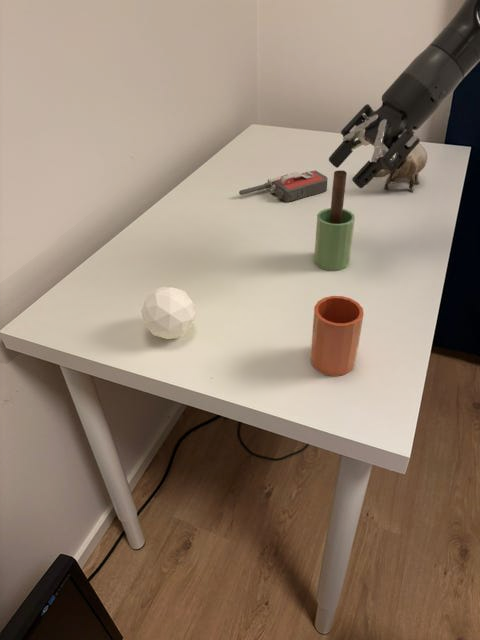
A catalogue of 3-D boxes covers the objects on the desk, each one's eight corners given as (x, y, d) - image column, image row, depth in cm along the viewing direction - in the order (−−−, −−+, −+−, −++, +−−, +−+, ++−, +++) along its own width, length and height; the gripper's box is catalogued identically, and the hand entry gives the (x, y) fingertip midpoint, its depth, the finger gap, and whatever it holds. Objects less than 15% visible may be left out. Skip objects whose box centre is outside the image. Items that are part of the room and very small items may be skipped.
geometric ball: (185, 339, 77) (213, 304, 73) (159, 357, 70) (188, 319, 66) (152, 306, 77) (177, 270, 74) (122, 321, 70) (149, 282, 67)
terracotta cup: (360, 353, 69) (369, 303, 63) (346, 381, 65) (354, 331, 59) (319, 340, 71) (324, 291, 66) (303, 367, 67) (307, 317, 62)
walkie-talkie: (310, 177, 116) (237, 196, 109) (311, 159, 113) (236, 178, 106) (332, 190, 110) (256, 212, 103) (334, 171, 107) (256, 192, 100)
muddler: (346, 258, 87) (357, 172, 77) (333, 266, 85) (342, 179, 75) (330, 250, 89) (338, 166, 79) (316, 258, 87) (323, 173, 77)
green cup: (353, 256, 88) (359, 212, 83) (342, 274, 84) (347, 228, 79) (321, 249, 91) (325, 205, 85) (308, 265, 87) (311, 220, 81)
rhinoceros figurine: (443, 165, 112) (431, 120, 100) (414, 215, 111) (399, 175, 99) (412, 160, 117) (397, 116, 105) (384, 207, 116) (366, 168, 104)
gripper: (384, 61, 75) (311, 144, 80) (438, 83, 65) (350, 177, 70) (407, 93, 80) (337, 171, 85) (462, 118, 69) (378, 205, 74)
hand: (343, 174), depth 77 cm, fingers open, 8 cm apart
